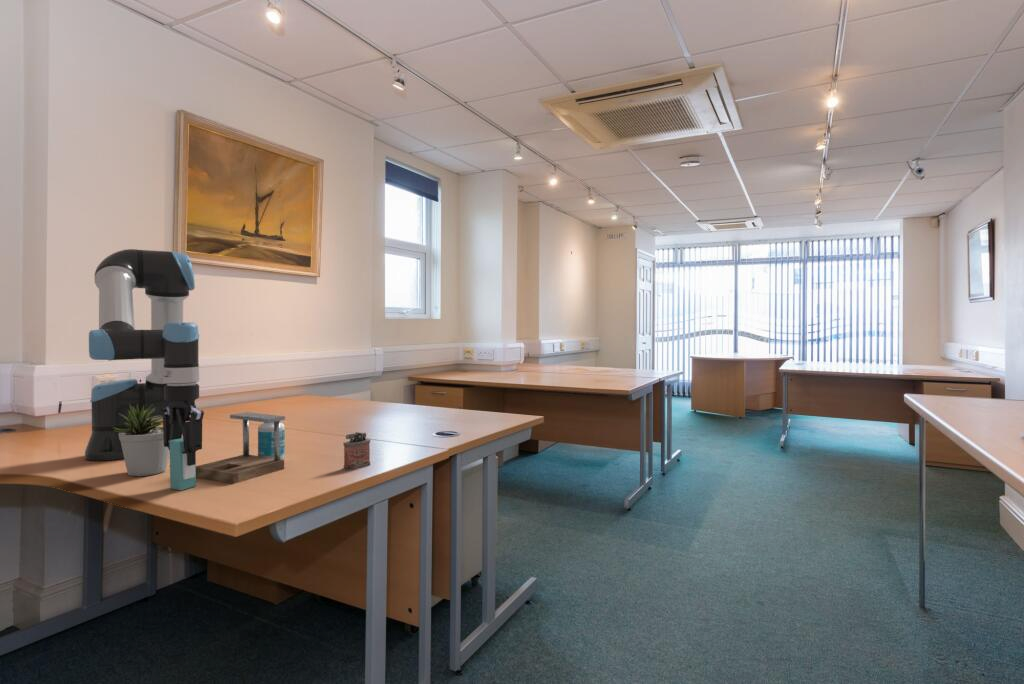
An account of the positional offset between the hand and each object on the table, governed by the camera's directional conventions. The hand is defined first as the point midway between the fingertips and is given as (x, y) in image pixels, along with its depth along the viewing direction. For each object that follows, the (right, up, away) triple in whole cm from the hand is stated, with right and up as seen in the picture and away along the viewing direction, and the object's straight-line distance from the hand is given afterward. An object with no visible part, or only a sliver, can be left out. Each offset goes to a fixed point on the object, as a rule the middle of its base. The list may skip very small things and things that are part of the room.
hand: (183, 476), depth 134 cm
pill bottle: (+10, -2, +27) cm, 29 cm away
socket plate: (+7, -2, +14) cm, 16 cm away
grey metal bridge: (+10, -2, +20) cm, 22 cm away
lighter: (+38, -3, +21) cm, 43 cm away
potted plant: (-19, -3, +14) cm, 23 cm away
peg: (0, -3, 0) cm, 3 cm away
